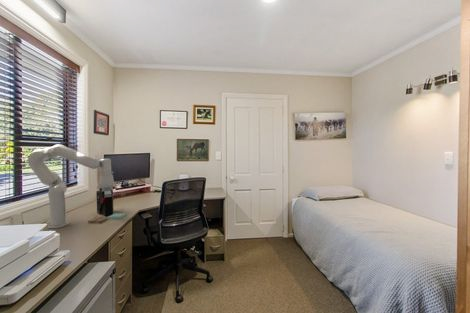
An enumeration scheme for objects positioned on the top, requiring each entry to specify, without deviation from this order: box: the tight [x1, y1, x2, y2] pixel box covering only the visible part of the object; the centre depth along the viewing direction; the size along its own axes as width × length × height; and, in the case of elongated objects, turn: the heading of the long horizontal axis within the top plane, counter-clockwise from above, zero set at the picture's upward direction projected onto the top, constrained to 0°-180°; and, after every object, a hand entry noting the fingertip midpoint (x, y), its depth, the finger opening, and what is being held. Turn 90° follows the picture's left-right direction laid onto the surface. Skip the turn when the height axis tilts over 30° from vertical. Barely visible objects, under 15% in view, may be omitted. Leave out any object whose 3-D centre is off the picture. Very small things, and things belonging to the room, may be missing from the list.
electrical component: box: [96, 190, 116, 217], centre depth 206 cm, size 18×10×20 cm, turn 47°
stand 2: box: [107, 212, 127, 220], centre depth 197 cm, size 10×10×2 cm
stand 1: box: [87, 216, 109, 224], centre depth 187 cm, size 10×10×2 cm
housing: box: [104, 187, 112, 197], centre depth 191 cm, size 7×5×7 cm
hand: (107, 195), depth 191 cm, fingers closed on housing, 5 cm apart
